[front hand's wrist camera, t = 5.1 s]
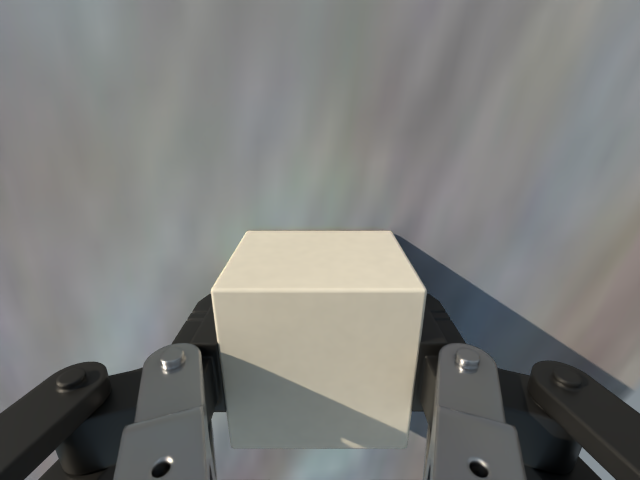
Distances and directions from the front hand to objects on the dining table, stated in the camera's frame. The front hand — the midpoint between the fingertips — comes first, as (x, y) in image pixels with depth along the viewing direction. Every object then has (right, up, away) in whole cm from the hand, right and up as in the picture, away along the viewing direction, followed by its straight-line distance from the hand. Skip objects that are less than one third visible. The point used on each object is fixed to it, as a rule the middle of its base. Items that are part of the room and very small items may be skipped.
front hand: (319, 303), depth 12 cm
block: (0, 0, 0) cm, 1 cm away
